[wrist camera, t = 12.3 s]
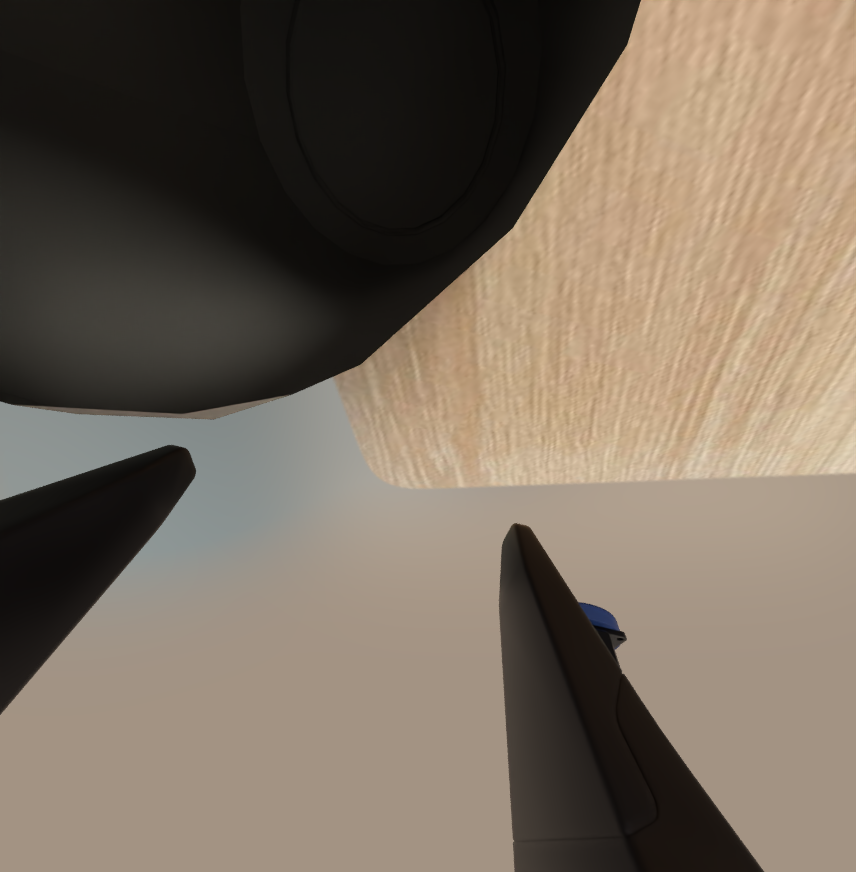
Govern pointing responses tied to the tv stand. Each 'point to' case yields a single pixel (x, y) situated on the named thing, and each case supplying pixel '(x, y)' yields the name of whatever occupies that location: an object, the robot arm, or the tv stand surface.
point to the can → (262, 182)
